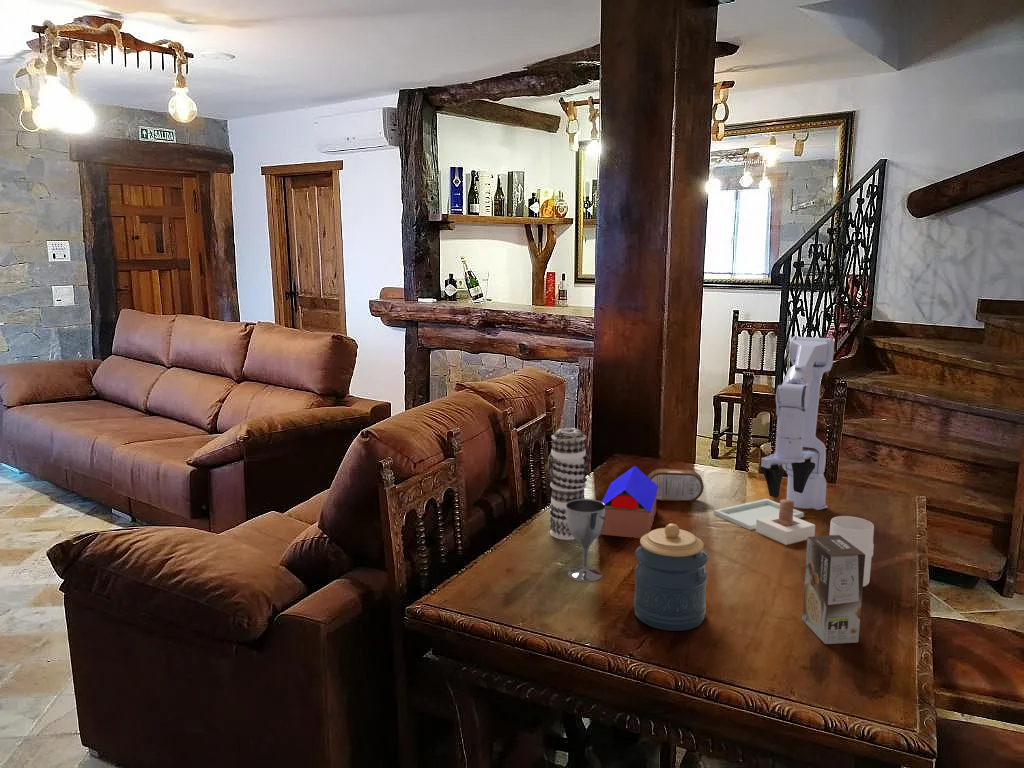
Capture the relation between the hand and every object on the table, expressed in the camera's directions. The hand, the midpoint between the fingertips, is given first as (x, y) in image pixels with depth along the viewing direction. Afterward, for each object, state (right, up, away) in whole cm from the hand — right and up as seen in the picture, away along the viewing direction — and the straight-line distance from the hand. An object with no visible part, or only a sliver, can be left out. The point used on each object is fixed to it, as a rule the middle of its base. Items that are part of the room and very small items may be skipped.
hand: (786, 494), depth 173 cm
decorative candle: (-49, -10, +6) cm, 51 cm away
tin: (-19, -6, +28) cm, 35 cm away
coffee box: (-7, -19, -39) cm, 44 cm away
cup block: (0, -11, +2) cm, 11 cm away
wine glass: (-47, -14, -16) cm, 52 cm away
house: (-34, -9, +13) cm, 37 cm away
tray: (-2, -8, +14) cm, 17 cm away
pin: (0, -10, +2) cm, 10 cm away
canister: (-34, -18, -33) cm, 51 cm away
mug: (+6, -14, -17) cm, 23 cm away
